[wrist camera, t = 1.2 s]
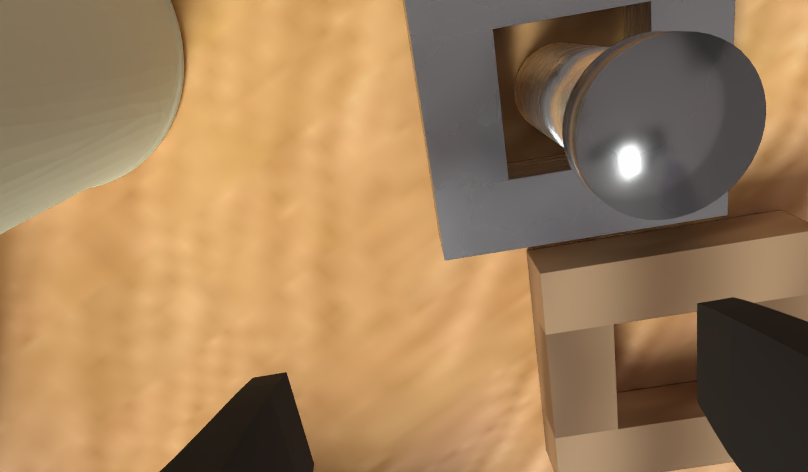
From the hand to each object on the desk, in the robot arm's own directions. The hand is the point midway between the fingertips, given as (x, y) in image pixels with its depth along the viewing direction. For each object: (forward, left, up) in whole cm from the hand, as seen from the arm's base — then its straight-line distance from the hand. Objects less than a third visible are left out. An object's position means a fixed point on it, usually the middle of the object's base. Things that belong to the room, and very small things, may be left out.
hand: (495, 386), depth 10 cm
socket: (-7, +7, -10) cm, 14 cm away
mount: (-4, -3, -10) cm, 12 cm away
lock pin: (-4, -3, -10) cm, 12 cm away
